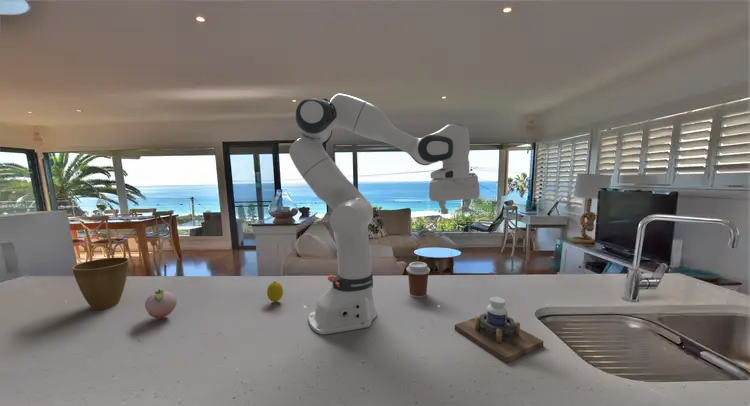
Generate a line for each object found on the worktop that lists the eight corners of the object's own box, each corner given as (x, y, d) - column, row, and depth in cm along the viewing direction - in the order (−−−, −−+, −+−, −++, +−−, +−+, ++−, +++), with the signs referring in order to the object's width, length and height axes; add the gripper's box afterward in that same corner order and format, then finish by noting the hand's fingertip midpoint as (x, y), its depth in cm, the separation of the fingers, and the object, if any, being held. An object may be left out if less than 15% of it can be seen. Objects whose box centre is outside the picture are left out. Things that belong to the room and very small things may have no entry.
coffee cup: (433, 292, 115) (433, 263, 114) (424, 301, 107) (424, 269, 106) (412, 288, 120) (412, 259, 118) (402, 296, 112) (402, 265, 111)
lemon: (264, 304, 106) (263, 283, 105) (274, 298, 111) (273, 277, 110) (276, 306, 104) (275, 285, 103) (286, 300, 109) (285, 279, 108)
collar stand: (506, 363, 72) (506, 344, 72) (454, 329, 88) (454, 313, 87) (543, 346, 79) (544, 328, 79) (489, 317, 95) (489, 302, 94)
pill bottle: (508, 338, 80) (510, 304, 79) (488, 336, 81) (489, 303, 80) (504, 328, 86) (505, 296, 84) (484, 326, 87) (485, 295, 86)
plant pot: (75, 319, 96) (69, 272, 95) (79, 304, 107) (74, 262, 106) (133, 305, 106) (129, 263, 104) (132, 293, 117) (128, 254, 115)
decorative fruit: (181, 318, 96) (178, 289, 95) (150, 328, 91) (147, 297, 89) (173, 309, 103) (171, 282, 102) (144, 318, 97) (141, 289, 96)
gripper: (470, 172, 107) (469, 209, 109) (426, 173, 98) (426, 214, 99) (484, 172, 102) (483, 211, 103) (438, 173, 92) (438, 216, 94)
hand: (455, 212), depth 101 cm, fingers open, 8 cm apart
